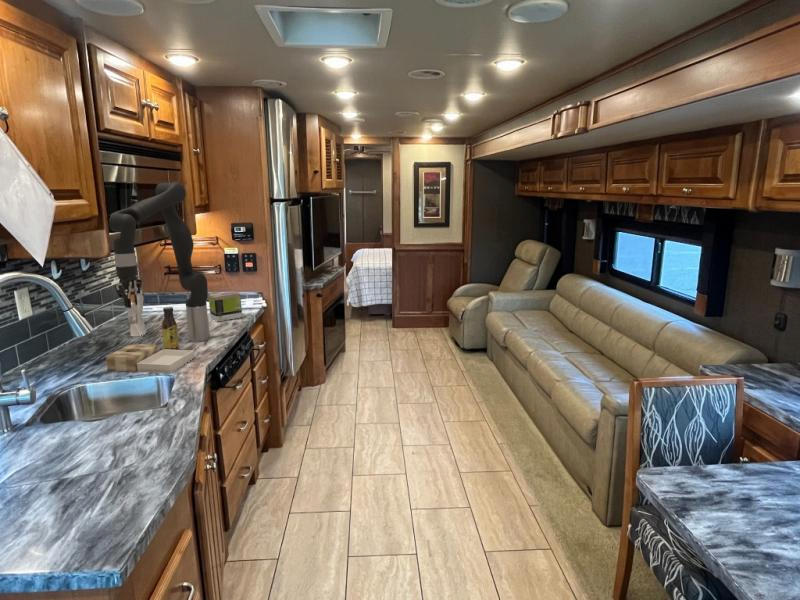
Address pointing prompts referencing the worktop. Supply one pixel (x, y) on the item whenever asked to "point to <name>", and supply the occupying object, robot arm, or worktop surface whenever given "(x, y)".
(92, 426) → the worktop surface
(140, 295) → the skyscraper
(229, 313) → the tea box
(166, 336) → the sauce bottle
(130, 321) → the copper and grey cylinder
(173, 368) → the tray
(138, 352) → the block
